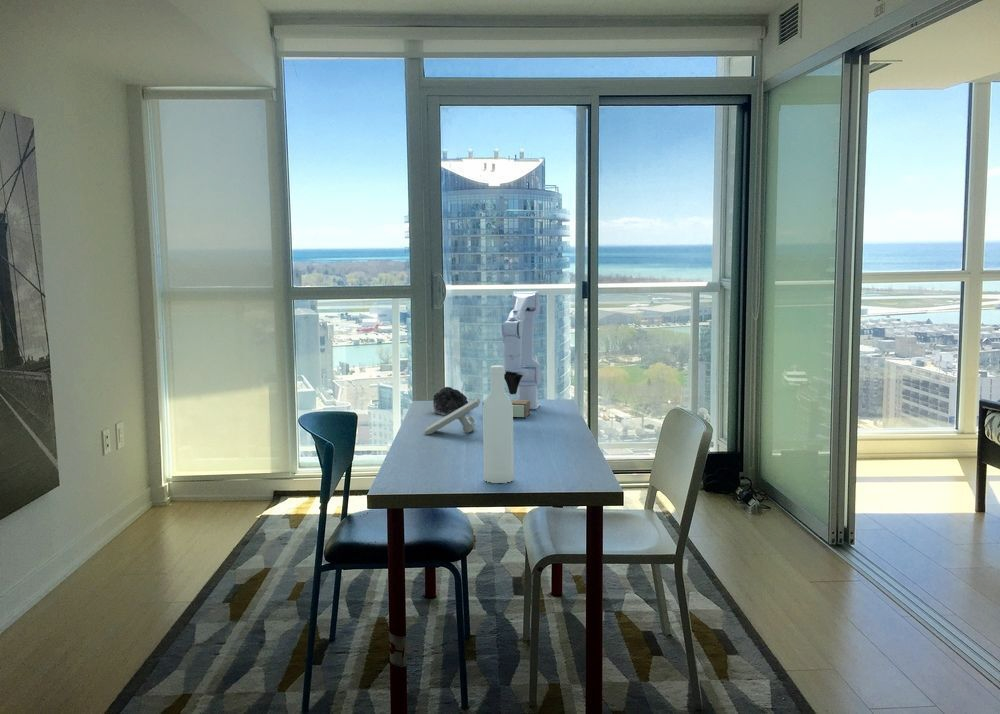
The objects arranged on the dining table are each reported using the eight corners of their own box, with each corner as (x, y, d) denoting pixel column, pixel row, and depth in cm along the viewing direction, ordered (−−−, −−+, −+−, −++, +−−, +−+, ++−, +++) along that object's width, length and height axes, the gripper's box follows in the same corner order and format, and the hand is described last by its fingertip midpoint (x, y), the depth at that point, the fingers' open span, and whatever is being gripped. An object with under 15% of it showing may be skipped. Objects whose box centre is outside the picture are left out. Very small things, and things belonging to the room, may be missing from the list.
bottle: (520, 480, 212) (518, 366, 209) (495, 486, 208) (493, 369, 204) (502, 474, 219) (500, 363, 215) (477, 479, 214) (475, 366, 211)
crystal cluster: (467, 417, 298) (469, 390, 297) (430, 415, 298) (432, 387, 297) (469, 413, 311) (471, 387, 311) (433, 410, 311) (435, 384, 311)
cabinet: (487, 412, 302) (486, 399, 301) (529, 414, 298) (529, 400, 298) (482, 416, 295) (482, 402, 294) (526, 417, 292) (526, 403, 291)
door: (484, 415, 295) (484, 404, 294) (526, 417, 291) (526, 405, 291) (483, 416, 293) (483, 405, 292) (525, 418, 289) (525, 406, 289)
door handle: (437, 452, 269) (489, 422, 266) (424, 431, 268) (476, 401, 265) (443, 438, 286) (492, 410, 283) (431, 419, 285) (480, 390, 282)
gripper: (490, 354, 287) (490, 392, 289) (518, 358, 277) (518, 397, 278) (504, 352, 292) (505, 390, 294) (533, 356, 281) (533, 395, 283)
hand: (513, 393), depth 286 cm, fingers closed
